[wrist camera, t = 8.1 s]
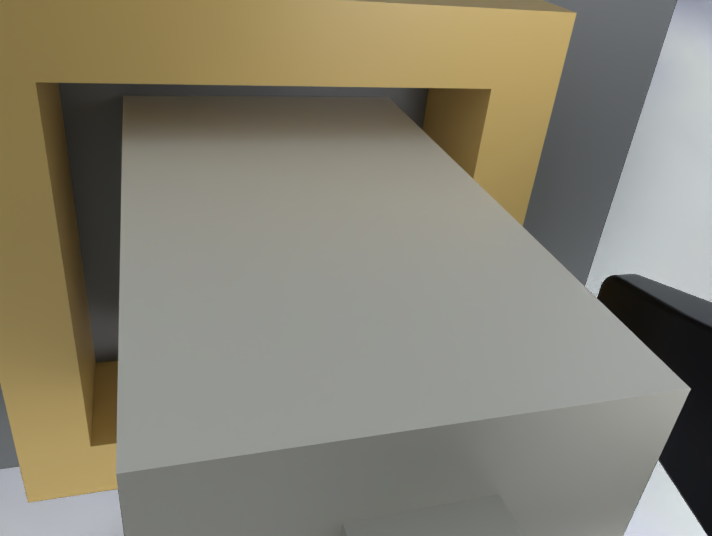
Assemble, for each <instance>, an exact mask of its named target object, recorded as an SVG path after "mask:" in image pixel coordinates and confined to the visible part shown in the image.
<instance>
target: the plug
mask: <svg viewBox="0 0 712 536" xmlns="http://www.w3.org/2000/svg"><path fill="white" fill-rule="evenodd" d="M690 390H691V388H690V387H689V386H688V385H687V384H685V383H684V382H683V381H682V380H681V379H680V378H679V377H678V376H677V375H676V374H675V373H674V372H673V371H672V370H671V369H670V368H669V367H668V366H667V365H666V364H665V363H664V362H663V361H662V360H661V359H660V358H659V357H657V356H656V355H655V354H654V353H653V352H652V351H651V350H650V349H649V348H648V347H647V346H646V345H645V344H644V343H643V342H642V341H641V340H640V339H639V338H638V337H637V336H636V335H635V334H634V333H633V332H632V331H630V330H629V329H628V328H627V327H626V326H625V325H624V324H623V323H622V322H621V321H620V320H619V319H618V318H617V317H616V316H615V315H614V314H613V313H612V312H611V311H610V310H609V309H608V308H607V307H606V306H605V305H604V304H602V303H601V302H600V301H599V300H598V299H597V298H596V297H595V296H594V295H593V294H592V293H591V292H590V291H589V290H588V289H587V288H586V287H585V286H584V285H583V284H582V283H581V282H580V281H579V280H578V279H577V278H575V277H574V276H573V275H572V274H571V273H570V272H569V271H568V270H567V269H566V268H565V267H564V266H563V265H562V264H561V263H560V262H559V261H558V260H557V259H556V258H555V257H554V256H553V255H552V254H551V253H550V252H549V251H547V250H546V249H545V248H544V247H543V246H542V245H541V244H540V243H539V242H538V241H537V240H536V239H535V238H534V237H533V236H532V235H531V234H530V233H529V232H528V231H527V230H526V229H525V228H524V227H523V226H522V225H521V224H519V223H518V222H517V221H516V220H515V219H514V218H513V217H512V216H511V215H510V214H509V213H508V212H507V211H506V210H505V209H504V208H503V207H502V206H501V205H500V204H499V203H498V202H497V201H496V200H495V199H494V198H492V197H491V196H490V195H489V194H488V193H487V192H486V191H485V190H484V189H483V188H482V187H481V186H480V185H479V184H478V183H477V182H476V181H475V180H474V179H473V178H472V177H471V176H470V175H469V174H468V173H467V172H466V171H464V170H463V169H462V168H461V167H460V166H459V165H458V164H457V163H456V162H455V161H454V160H453V159H452V158H451V157H450V156H449V155H448V154H447V153H446V152H445V151H444V150H443V149H442V148H441V147H440V146H439V145H438V144H436V143H435V142H434V141H433V140H432V139H431V138H430V137H429V136H428V135H427V134H426V133H425V132H424V131H423V130H422V129H421V128H420V127H419V126H418V125H417V124H416V123H415V122H414V121H413V120H412V119H411V118H409V117H408V116H407V115H406V114H405V113H404V112H403V111H402V110H401V109H400V108H399V107H398V106H397V105H396V104H395V103H394V102H393V101H392V100H391V99H390V98H389V97H280V96H123V122H122V176H121V230H120V284H119V338H118V391H117V445H116V478H117V485H118V493H119V500H120V508H121V515H122V523H123V530H124V536H623V535H624V533H625V531H626V528H627V526H628V524H629V522H630V520H631V518H632V515H633V513H634V511H635V509H636V507H637V505H638V502H639V500H640V498H641V496H642V494H643V492H644V489H645V487H646V485H647V483H648V481H649V479H650V476H651V474H652V472H653V470H654V468H655V466H656V463H657V461H658V459H659V457H660V455H661V453H662V450H663V448H664V446H665V444H666V442H667V440H668V437H669V435H670V433H671V431H672V429H673V427H674V424H675V422H676V420H677V418H678V416H679V414H680V411H681V409H682V407H683V405H684V403H685V401H686V398H687V396H688V394H689V392H690Z"/></svg>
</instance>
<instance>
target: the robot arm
mask: <svg viewBox="0 0 712 536" xmlns="http://www.w3.org/2000/svg"><path fill="white" fill-rule="evenodd" d="M597 299H598V300H599V301H600V302H601V303H602V304H604V305H605V306H606V307H607V308H608V309H609V310H610V311H611V312H612V313H613V314H614V315H615V316H616V317H617V318H618V319H619V320H620V321H621V322H622V323H623V324H624V325H625V326H626V327H627V328H628V329H629V330H630V331H632V332H633V333H634V334H635V335H636V336H637V337H638V338H639V339H640V340H641V341H642V342H643V343H644V344H645V345H646V346H647V347H648V348H649V349H650V350H651V351H652V352H653V353H654V354H655V355H656V356H657V357H659V358H660V359H661V360H662V361H663V362H664V363H665V364H666V365H667V366H668V367H669V368H670V369H671V370H672V371H673V372H674V373H675V374H676V375H677V376H678V377H679V378H680V379H681V380H682V381H683V382H684V383H685V384H687V385H688V386H689V387H690V388H691V390H690V392H689V394H688V396H687V398H686V401H685V403H684V405H683V407H682V409H681V411H680V414H679V416H678V418H677V420H676V422H675V424H674V427H673V429H672V431H671V433H670V435H669V437H668V440H667V442H666V444H665V446H664V448H663V450H662V453H661V455H660V457H659V459H658V460H659V462H660V463H661V465H662V466H663V468H664V470H665V471H666V473H667V474H668V476H669V477H670V479H671V480H672V482H673V483H674V485H675V486H676V488H677V490H678V491H679V493H680V494H681V496H682V497H683V499H684V500H685V502H686V503H687V505H688V506H689V508H690V510H691V511H692V513H693V514H694V516H695V517H696V519H697V520H698V522H699V523H700V525H701V526H702V528H703V530H704V531H705V533H706V534H707V536H712V302H709V301H706V300H704V299H701V298H698V297H696V296H693V295H690V294H688V293H685V292H682V291H680V290H677V289H674V288H672V287H669V286H666V285H664V284H661V283H658V282H656V281H653V280H650V279H648V278H645V277H642V276H640V275H636V274H624V275H612V276H610V277H608V278H606V279H605V280H604V282H603V283H602V285H601V288H600V291H599V294H598V297H597Z"/></svg>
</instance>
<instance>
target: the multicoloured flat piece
mask: <svg viewBox="0 0 712 536" xmlns="http://www.w3.org/2000/svg"><path fill="white" fill-rule="evenodd" d="M676 3H677V0H0V469H4V468H11V467H19V466H20V470H21V474H22V478H23V483H24V487H25V491H26V496H27V500H28V503H29V502H35V501H42V500H48V499H55V498H62V497H68V496H75V495H81V494H88V493H95V492H101V491H108V490H114V489H118V485H117V478H116V445H117V391H118V338H119V284H120V230H121V176H122V122H123V96H280V97H389V98H390V99H391V100H392V101H393V102H394V103H395V104H396V105H397V106H398V107H399V108H400V109H401V110H402V111H403V112H404V113H405V114H406V115H407V116H408V117H409V118H411V119H412V120H413V121H414V122H415V123H416V124H417V125H418V126H419V127H420V128H421V129H422V130H423V131H424V132H425V133H426V134H427V135H428V136H429V137H430V138H431V139H432V140H433V141H434V142H435V143H436V144H438V145H439V146H440V147H441V148H442V149H443V150H444V151H445V152H446V153H447V154H448V155H449V156H450V157H451V158H452V159H453V160H454V161H455V162H456V163H457V164H458V165H459V166H460V167H461V168H462V169H463V170H464V171H466V172H467V173H468V174H469V175H470V176H471V177H472V178H473V179H474V180H475V181H476V182H477V183H478V184H479V185H480V186H481V187H482V188H483V189H484V190H485V191H486V192H487V193H488V194H489V195H490V196H491V197H492V198H494V199H495V200H496V201H497V202H498V203H499V204H500V205H501V206H502V207H503V208H504V209H505V210H506V211H507V212H508V213H509V214H510V215H511V216H512V217H513V218H514V219H515V220H516V221H517V222H518V223H519V224H521V225H522V226H523V227H524V228H525V229H526V230H527V231H528V232H529V233H530V234H531V235H532V236H533V237H534V238H535V239H536V240H537V241H538V242H539V243H540V244H541V245H542V246H543V247H544V248H545V249H546V250H547V251H549V252H550V253H551V254H552V255H553V256H554V257H555V258H556V259H557V260H558V261H559V262H560V263H561V264H562V265H563V266H564V267H565V268H566V269H567V270H568V271H569V272H570V273H571V274H572V275H573V276H574V277H575V278H577V279H578V280H579V281H580V282H581V283H582V284H583V285H584V286H585V284H586V281H587V277H588V274H589V271H590V268H591V265H592V262H593V259H594V256H595V253H596V250H597V247H598V243H599V240H600V237H601V234H602V231H603V228H604V225H605V222H606V219H607V216H608V213H609V210H610V206H611V203H612V200H613V197H614V194H615V191H616V188H617V185H618V182H619V179H620V176H621V172H622V169H623V166H624V163H625V160H626V157H627V154H628V151H629V148H630V145H631V142H632V139H633V135H634V132H635V129H636V126H637V123H638V120H639V117H640V114H641V111H642V108H643V105H644V101H645V98H646V95H647V92H648V89H649V86H650V83H651V80H652V77H653V74H654V71H655V68H656V64H657V61H658V58H659V55H660V52H661V49H662V46H663V43H664V40H665V37H666V34H667V30H668V27H669V24H670V21H671V18H672V15H673V12H674V9H675V6H676Z"/></svg>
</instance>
